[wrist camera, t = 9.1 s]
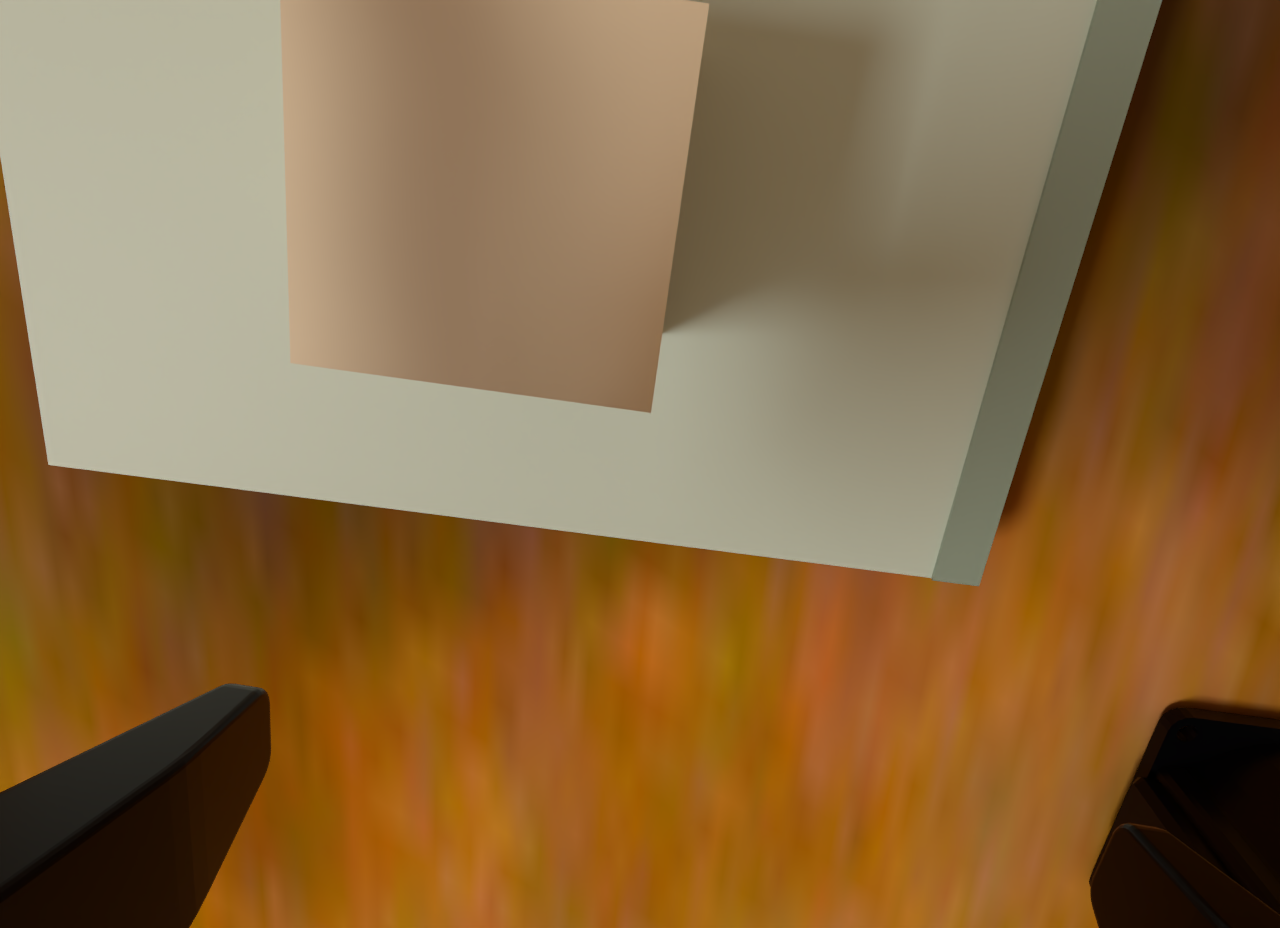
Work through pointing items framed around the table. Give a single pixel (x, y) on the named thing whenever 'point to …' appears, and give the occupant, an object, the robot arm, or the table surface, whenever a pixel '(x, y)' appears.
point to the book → (697, 297)
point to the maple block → (487, 188)
